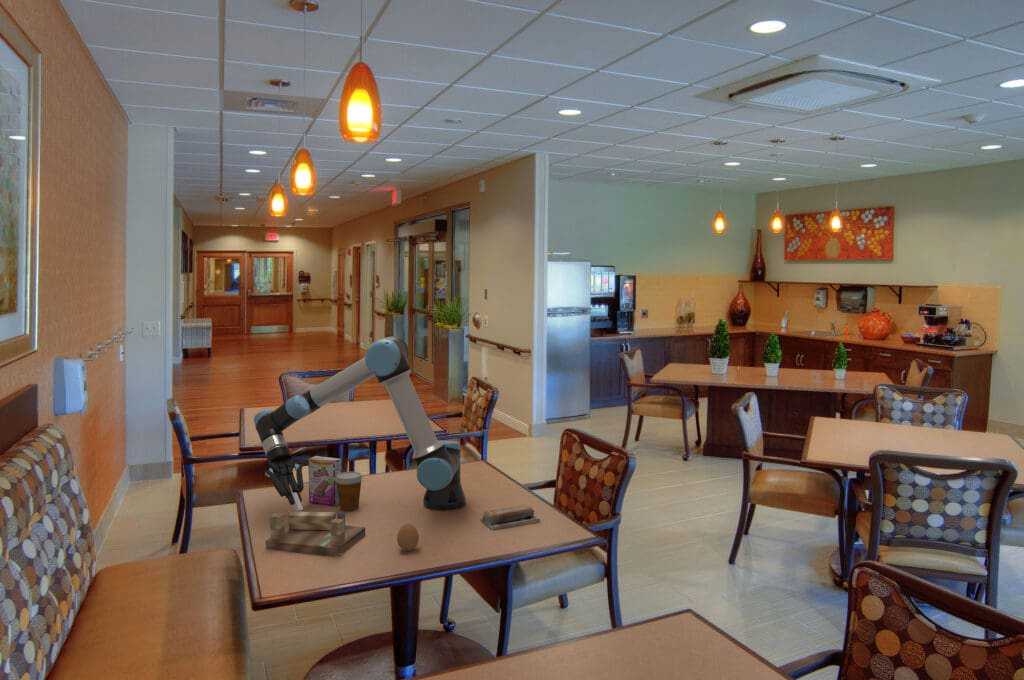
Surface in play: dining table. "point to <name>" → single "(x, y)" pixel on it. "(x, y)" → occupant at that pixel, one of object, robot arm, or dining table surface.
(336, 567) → the dining table surface
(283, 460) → the robot arm
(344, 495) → the disposable coffee cup
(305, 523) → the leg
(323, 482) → the candy bar box
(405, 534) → the egg
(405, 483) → the dining table surface
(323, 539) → the wooden block assembly
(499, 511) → the stapler
